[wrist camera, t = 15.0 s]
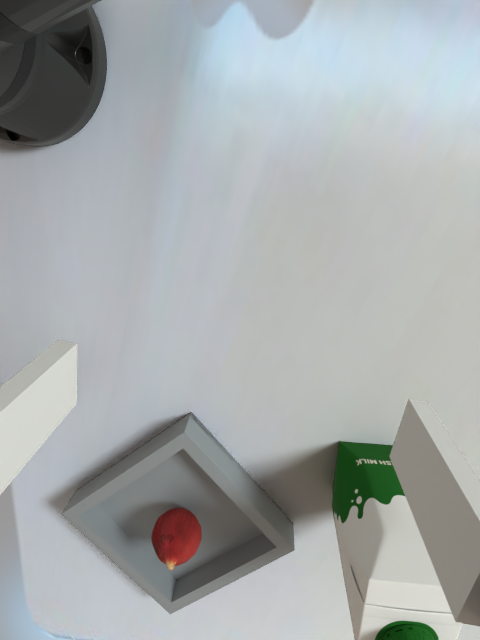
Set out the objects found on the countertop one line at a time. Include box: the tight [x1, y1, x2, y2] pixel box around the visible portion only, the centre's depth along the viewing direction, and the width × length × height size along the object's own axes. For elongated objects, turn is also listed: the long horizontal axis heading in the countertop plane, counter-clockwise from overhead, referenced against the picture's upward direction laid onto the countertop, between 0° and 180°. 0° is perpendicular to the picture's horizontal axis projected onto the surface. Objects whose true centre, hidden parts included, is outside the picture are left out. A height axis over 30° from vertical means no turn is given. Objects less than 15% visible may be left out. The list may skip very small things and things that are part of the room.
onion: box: [151, 507, 202, 570], centre depth 49 cm, size 6×6×8 cm
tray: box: [62, 412, 294, 614], centre depth 52 cm, size 20×20×4 cm
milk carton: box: [332, 441, 463, 640], centre depth 40 cm, size 9×9×20 cm
